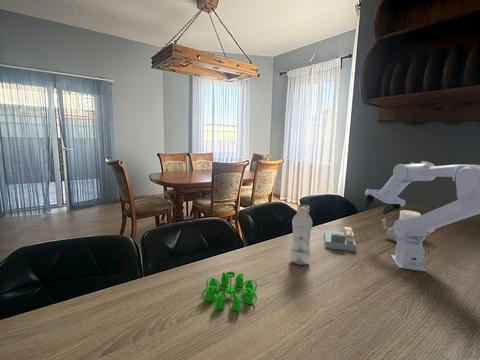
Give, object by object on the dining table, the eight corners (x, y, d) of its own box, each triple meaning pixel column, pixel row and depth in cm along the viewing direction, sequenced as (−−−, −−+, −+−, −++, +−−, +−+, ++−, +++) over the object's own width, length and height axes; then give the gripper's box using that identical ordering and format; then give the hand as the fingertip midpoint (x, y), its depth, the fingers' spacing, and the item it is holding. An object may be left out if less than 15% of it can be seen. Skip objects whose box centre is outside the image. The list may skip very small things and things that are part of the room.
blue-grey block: (355, 251, 99) (356, 237, 99) (325, 247, 102) (326, 234, 101) (350, 238, 112) (352, 226, 111) (323, 235, 115) (324, 223, 114)
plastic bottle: (310, 268, 86) (315, 209, 82) (289, 266, 87) (293, 208, 84) (309, 259, 92) (313, 204, 88) (289, 257, 93) (293, 203, 90)
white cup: (411, 231, 123) (414, 210, 121) (421, 237, 115) (424, 215, 113) (394, 230, 124) (396, 209, 122) (402, 236, 116) (405, 214, 114)
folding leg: (353, 242, 101) (354, 234, 100) (346, 241, 101) (347, 233, 101) (350, 234, 109) (351, 226, 109) (343, 233, 110) (344, 226, 109)
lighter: (397, 240, 111) (400, 222, 109) (395, 241, 110) (398, 223, 109) (381, 235, 117) (383, 218, 115) (379, 235, 116) (381, 218, 115)
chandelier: (243, 325, 60) (244, 297, 59) (190, 305, 66) (190, 280, 65) (266, 291, 73) (267, 268, 72) (220, 277, 80) (220, 256, 79)
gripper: (411, 187, 100) (391, 207, 110) (372, 175, 102) (357, 197, 112) (413, 201, 95) (392, 221, 106) (373, 188, 97) (356, 209, 107)
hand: (374, 209), depth 108 cm, fingers open, 7 cm apart
